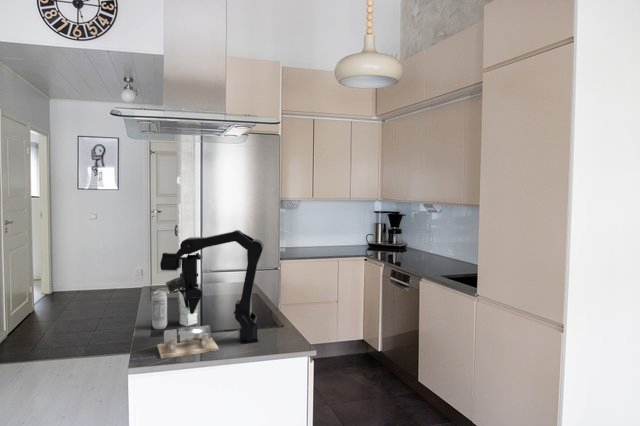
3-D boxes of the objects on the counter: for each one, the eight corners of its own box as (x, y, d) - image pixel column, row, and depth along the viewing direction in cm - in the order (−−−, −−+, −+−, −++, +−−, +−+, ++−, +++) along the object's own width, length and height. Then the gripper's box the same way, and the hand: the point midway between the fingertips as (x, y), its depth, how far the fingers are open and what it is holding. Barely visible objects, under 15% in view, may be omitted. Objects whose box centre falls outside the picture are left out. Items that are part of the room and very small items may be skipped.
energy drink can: (169, 325, 194) (169, 290, 193) (163, 329, 188) (163, 294, 187) (155, 324, 194) (155, 290, 193) (149, 329, 188) (149, 293, 187)
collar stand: (211, 339, 176) (211, 324, 176) (218, 350, 166) (218, 334, 165) (157, 347, 168) (157, 331, 168) (160, 358, 157) (160, 341, 157)
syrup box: (190, 321, 200) (190, 288, 199) (198, 323, 196) (198, 290, 195) (179, 324, 196) (178, 291, 195) (187, 327, 192) (187, 293, 191)
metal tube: (208, 339, 172) (207, 325, 173) (211, 339, 168) (210, 325, 169) (164, 344, 166) (163, 330, 167) (165, 344, 161) (165, 330, 162)
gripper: (163, 267, 178) (164, 306, 179) (171, 277, 162) (171, 319, 163) (192, 266, 183) (192, 304, 184) (202, 274, 167) (202, 316, 168)
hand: (189, 310), depth 175 cm, fingers open, 9 cm apart
